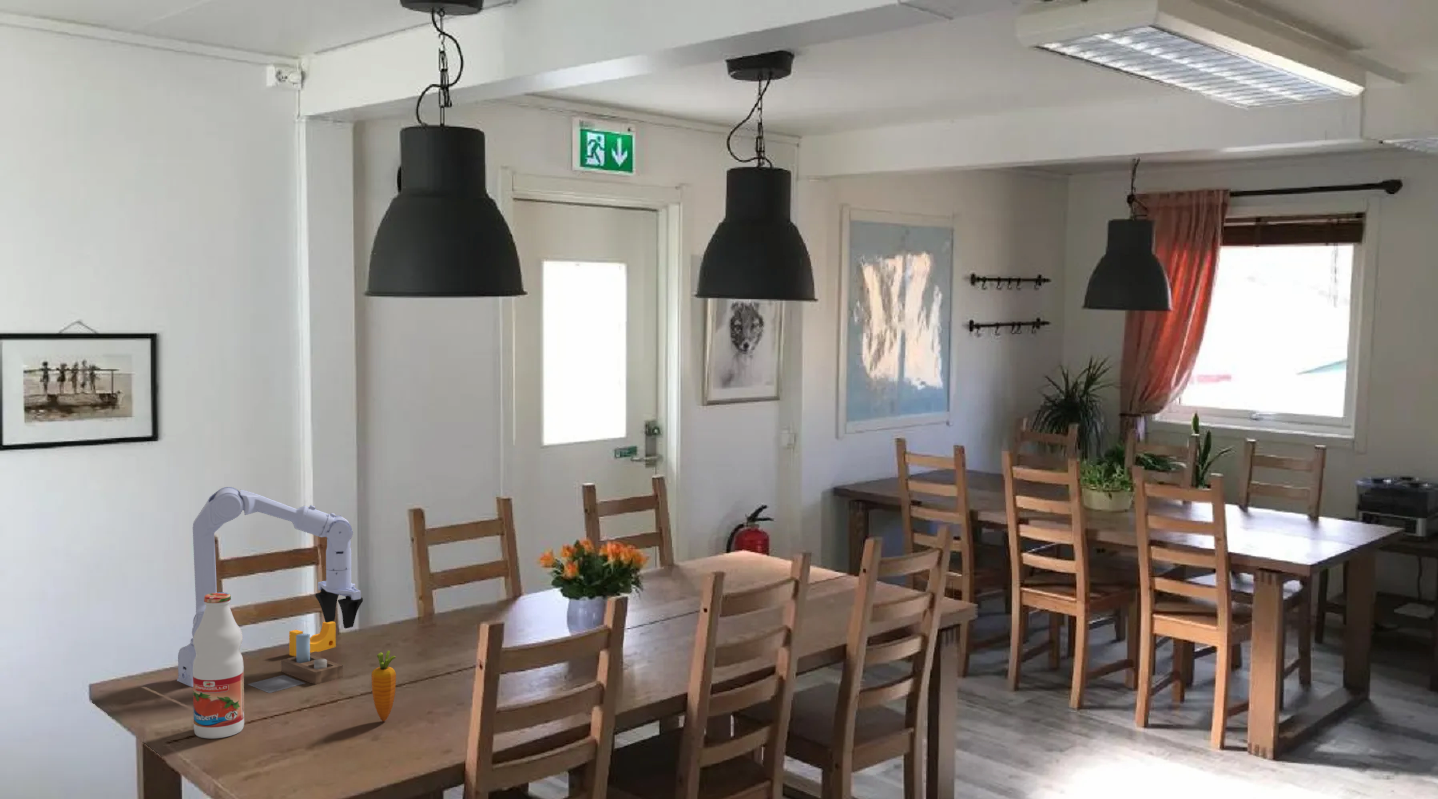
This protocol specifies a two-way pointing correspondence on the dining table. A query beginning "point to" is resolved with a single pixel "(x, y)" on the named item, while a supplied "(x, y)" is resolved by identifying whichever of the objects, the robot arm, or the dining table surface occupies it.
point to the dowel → (302, 648)
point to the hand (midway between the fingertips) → (339, 624)
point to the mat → (276, 684)
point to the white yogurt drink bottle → (218, 671)
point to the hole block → (312, 669)
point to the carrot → (383, 686)
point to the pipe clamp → (316, 639)
